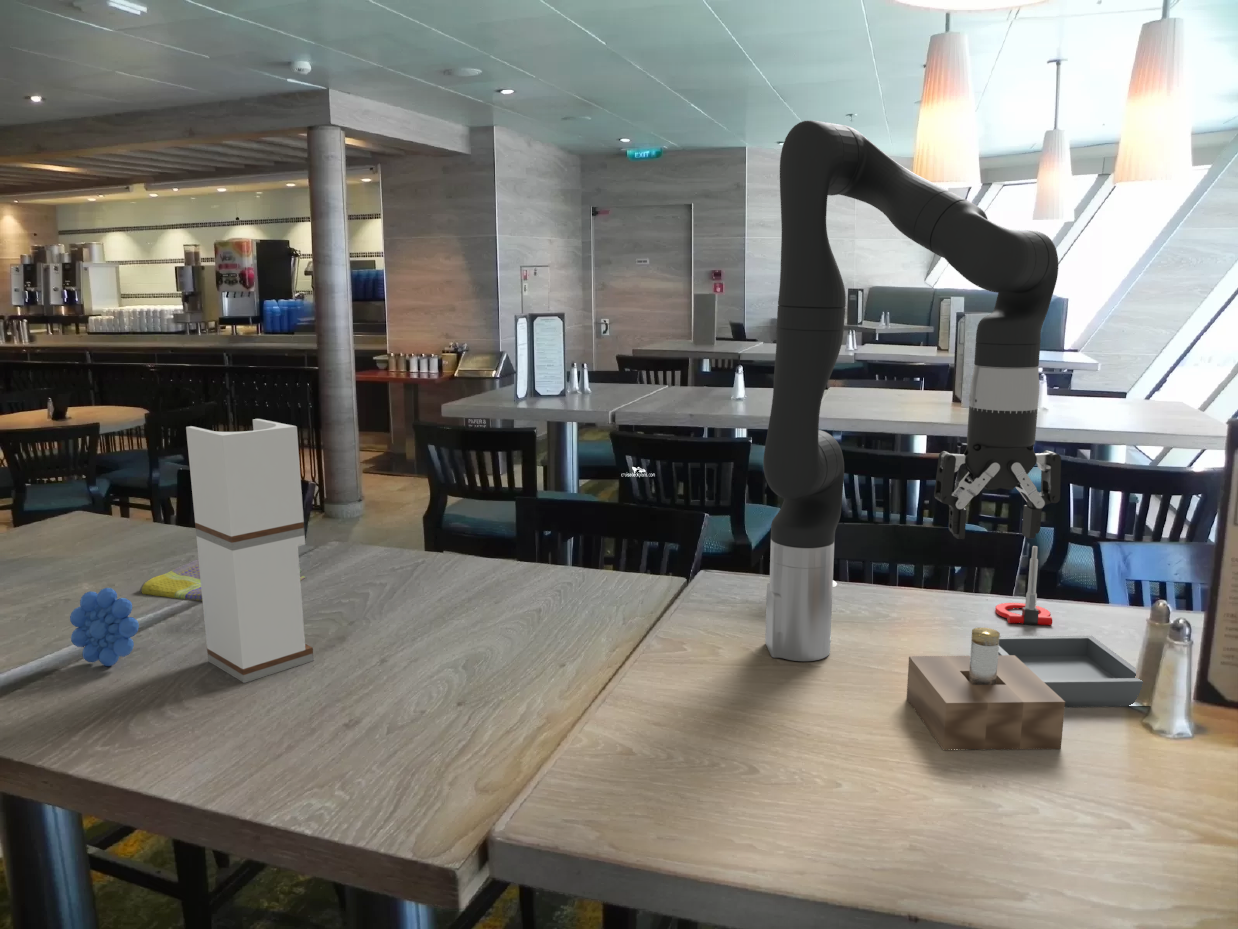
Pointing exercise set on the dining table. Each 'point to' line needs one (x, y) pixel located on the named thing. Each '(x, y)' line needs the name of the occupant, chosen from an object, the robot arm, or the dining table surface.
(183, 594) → the dish towel
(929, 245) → the robot arm
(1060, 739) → the block
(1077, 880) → the dining table surface
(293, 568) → the white open tower
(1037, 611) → the tow hook
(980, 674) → the pin
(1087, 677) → the tray
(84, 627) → the blue beaded flower
